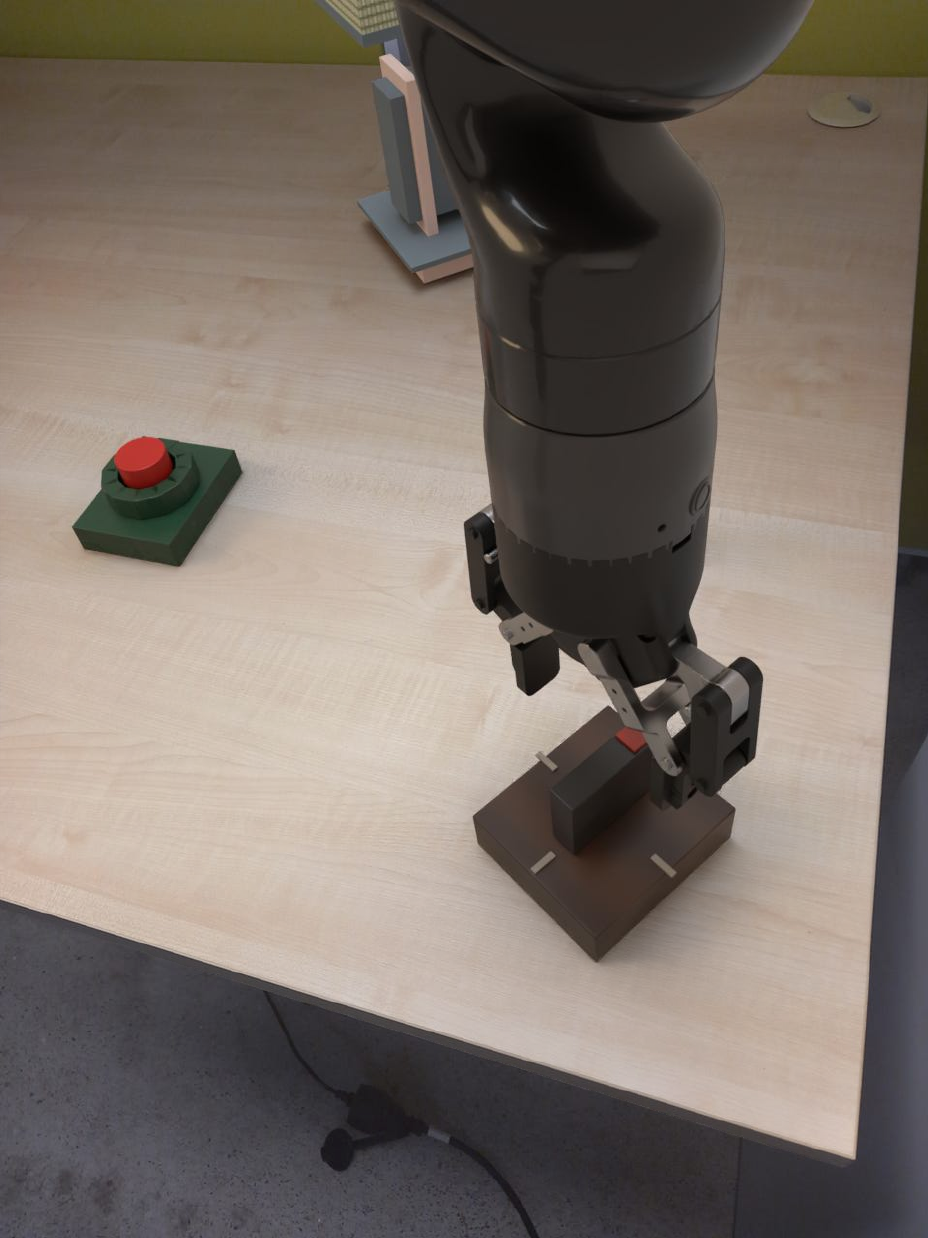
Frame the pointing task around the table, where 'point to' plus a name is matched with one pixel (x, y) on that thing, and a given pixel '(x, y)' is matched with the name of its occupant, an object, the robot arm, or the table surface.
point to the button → (143, 462)
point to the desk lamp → (406, 156)
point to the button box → (159, 505)
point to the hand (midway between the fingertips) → (602, 736)
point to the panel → (598, 846)
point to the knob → (600, 789)
